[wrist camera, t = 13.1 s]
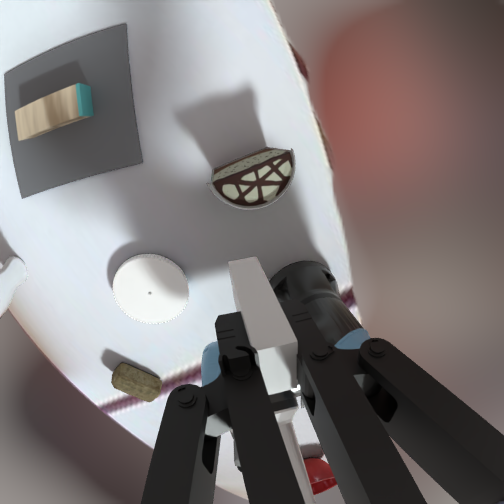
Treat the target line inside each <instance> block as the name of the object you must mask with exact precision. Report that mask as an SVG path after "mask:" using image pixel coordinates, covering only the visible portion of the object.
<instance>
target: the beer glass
mask: <svg viewBox="0 0 504 504" xmlns="http://www.w3.org/2000/svg"><path fill="white" fill-rule="evenodd" d="M27 278H28V270H27V267H26V265H25V263H24V262H23V261H22V260H21V259H20V258H18V257H16V256H11V257H9V258H8V259H7V260H6V262H5V264H4V265H3V267H2V268H1V269H0V319H1V317H2V316H3V315H4V313H5V312H6V310H7V309H8V307H9V305H10V303H11V301H12V299H13V296H14V294H15V292H16V290H17V288H18V287H19V286H20V285H22V284H23V283H24V282H25V281H26V280H27Z"/></svg>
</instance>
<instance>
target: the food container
mask: <svg viewBox="0 0 504 504" xmlns="http://www.w3.org/2000/svg"><path fill="white" fill-rule="evenodd" d="M294 173H295V155H294V151H293V149H292V148H291V150H284V149H277V148H270V147H266V148H264V149H261V150H258V151H256V152H253V153H251V154H248V155H246V156H243V157H241V158H238V159H236V160H234V161H231V162H229V163H227V164H224V165H222V166H219V167H217V168H215V169H213V171H212V178H211V183H210V184H209V183H207V185H208V187H209V189H210V190H211V191H212V193H213V194H214V195H215V196H216V197H217V198H218V199H219V200H221V201H222V202H224V203H225V204H228V205H230V206H232V207H235V208H238V209H244V210H254V209H260V208H263V207H266V206H268V205H270V204H272V203H274V202H275V201H277V200H278V199H279V198H280V197H281V196H282V195H284V193H285V192H286V191H287V189H288V188H289V186H290V184H291V182H292V180H293V177H294Z"/></svg>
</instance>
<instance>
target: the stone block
mask: <svg viewBox="0 0 504 504" xmlns="http://www.w3.org/2000/svg"><path fill="white" fill-rule="evenodd" d="M111 383H112V385H113V387H114V388H116V389H118V390H121V391H122V392H125V393H127V394H130V395H132V396H135V397H137V398H139V399H141V400H144V401H147V402H152V401H153V400H154V399H155V398H157V397H158V396H159V394H160V392H161V385H162V381H161V380H160V379H158V378H157V377H154V376H153V375H151V374H148V373H146V372H144V371H141V370H139V369H137V368H134V367H132V366H130V365H128V364H125V363H121V364H120V365H119V366H118V367H117V368H116V369H115V370H114V372H113V374H112V382H111Z"/></svg>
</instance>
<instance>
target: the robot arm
mask: <svg viewBox="0 0 504 504" xmlns="http://www.w3.org/2000/svg"><path fill="white" fill-rule="evenodd" d="M228 264H229V270H230V276H231V282H232V288H233V294H234V300H235V305H236V309H237V312H234V313H229V314H224V315H219V316H218V318H217V320H216V322H215V328H216V335H217V340H218V341H216V342H212V343H210V344H208V345H207V346H206V347H205V349H204V351H203V355H202V364H201V375H202V387H199V386H197V385H192V384H186V385H181V386H179V387H176V388H175V389H174V390H173V391H172V392H171V393H170V395H169V397H168V399H167V403H166V407H165V410H164V414H163V417H162V421H161V425H160V429H159V432H158V436H157V440H156V444H155V448H154V452H153V455H152V459H151V463H150V468H149V471H148V475H147V480H146V484H145V489H144V492H143V497H142V501H141V504H213V499H214V490H215V481H216V473H217V464H218V456H219V447H220V439H221V434H223V433H225V432H228V431H231V432H232V433H233V434H234V438H235V443H236V448H237V452H238V457H239V461H240V466H241V470H242V474H243V479H244V483H245V487H246V491H247V495H248V499H249V503H250V504H316V501H315V498H314V495H313V491H312V488H311V485H310V481H309V478H308V474H307V471H306V468H305V464H304V461H303V457H302V454H301V451H300V447H299V444H298V440H297V437H296V433H295V430H294V427H293V423H292V420H293V417H294V416H295V414H296V412H297V410H298V409H299V407H298V403H297V400H296V397H298V396H301V408H304V405H305V408H306V410H307V412H308V415H309V417H310V420H311V422H312V425H313V427H314V429H315V432H316V434H317V437H318V439H319V442H320V444H321V446H322V449H323V451H324V454H325V456H326V458H327V461H328V463H329V465H330V468H331V470H332V473H333V475H334V477H335V480H336V482H337V485H338V487H339V489H340V492H341V494H342V496H343V499H344V501H345V503H346V504H427V503H426V501H425V499H424V498H423V495H422V494H421V492H420V490H419V488H418V486H417V485H416V483H415V481H414V479H413V477H412V475H411V474H410V472H409V470H408V468H407V467H406V465H405V463H404V461H403V460H402V458H401V456H400V454H399V452H398V451H397V449H396V447H395V446H394V444H393V442H392V440H391V438H392V439H393V440H394V441H395V442H396V443H397V444H398V445H399V446H400V447H401V448H402V449H403V450H404V451H405V452H406V453H407V454H408V455H409V456H410V457H411V458H412V459H413V460H414V461H415V462H416V463H417V464H418V465H419V466H420V467H421V468H422V469H423V470H424V471H425V472H426V473H427V474H428V475H430V476H431V477H432V478H433V479H434V480H435V481H436V482H437V483H438V484H439V485H440V486H441V487H442V488H443V489H444V490H445V491H446V492H448V493H449V494H450V495H451V496H452V497H453V498H454V499H455V500H456V501H457V502H458V503H459V504H504V435H503V434H501V433H500V432H499V431H498V430H496V429H495V428H494V427H493V426H492V425H490V424H489V423H488V422H487V421H486V420H484V419H483V418H482V417H481V416H480V415H478V414H477V413H476V412H475V411H474V410H472V409H471V408H470V407H469V406H468V405H466V404H465V403H464V402H463V401H462V400H460V399H459V398H458V397H457V396H455V395H454V394H453V393H452V392H450V391H449V390H448V389H447V388H446V387H444V386H443V385H442V384H440V383H439V382H438V381H437V380H436V379H434V378H433V377H432V376H431V375H429V374H428V373H427V372H426V371H425V370H423V369H422V368H421V367H420V366H418V365H417V364H416V363H415V362H413V361H412V360H411V359H410V358H408V357H407V356H406V355H405V354H403V353H402V352H401V351H400V350H398V349H397V348H396V347H395V346H393V345H392V344H391V343H390V342H388V341H386V340H384V339H381V338H370V336H369V334H368V332H367V331H366V330H365V329H364V328H363V327H362V326H361V324H360V323H359V322H358V321H357V319H356V318H355V317H354V316H353V314H352V313H351V312H350V311H349V309H348V308H347V307H346V306H345V304H344V303H343V302H342V300H341V298H340V293H339V289H338V285H337V282H336V279H335V278H334V276H333V275H332V273H331V272H330V271H329V270H328V269H327V268H326V267H325V266H323V265H322V264H320V263H317V262H313V261H302V262H297V263H293V264H291V265H289V266H287V267H285V268H283V269H282V270H280V271H279V272H278V273H277V274H276V275H275V276H274V277H273V278H272V279H271V280H270V282H269V281H268V279H267V277H266V275H265V273H264V271H263V269H262V267H261V265H260V263H259V260H258V258H257V256H255V257H249V258H244V259H239V260H233V261H228ZM389 436H390V437H391V438H390V437H389Z"/></svg>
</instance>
